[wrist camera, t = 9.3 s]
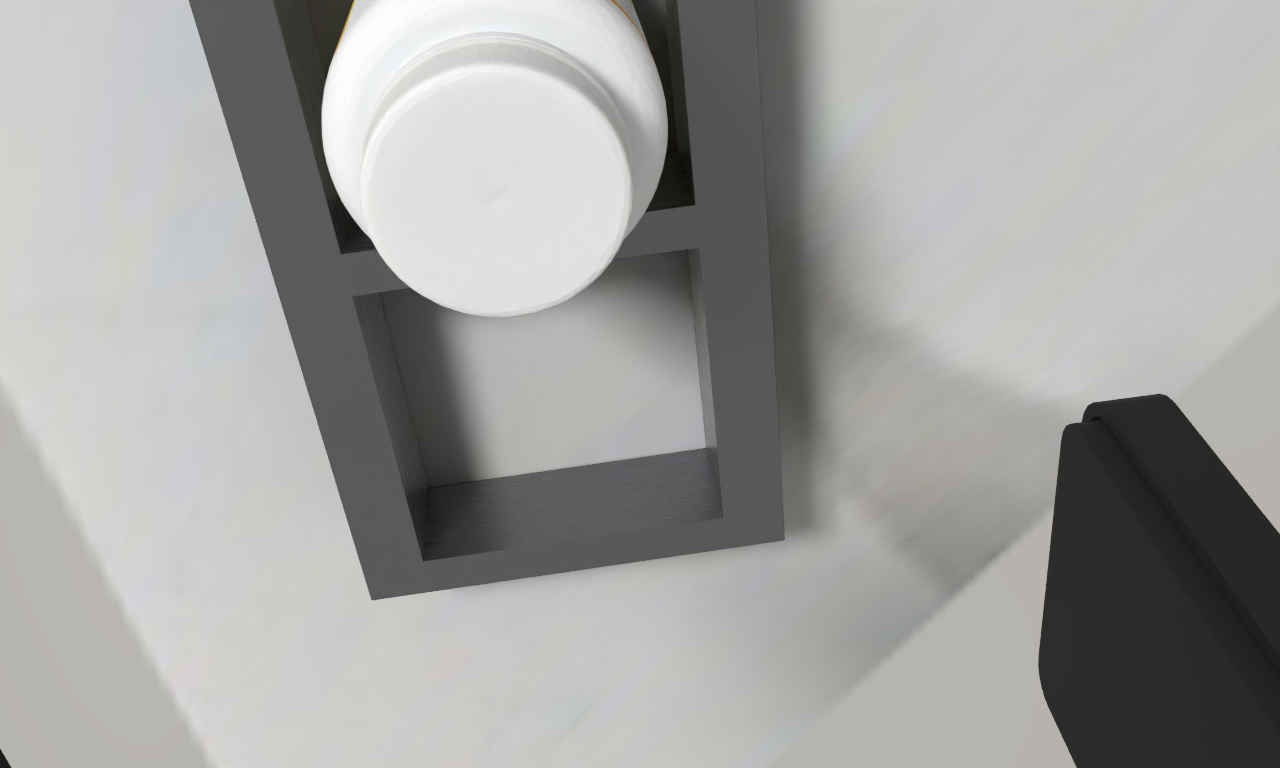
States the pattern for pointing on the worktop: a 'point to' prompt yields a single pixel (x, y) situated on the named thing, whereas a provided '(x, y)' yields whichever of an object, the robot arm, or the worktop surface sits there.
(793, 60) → the worktop surface
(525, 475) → the dark grey divided tray
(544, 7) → the supplement bottle
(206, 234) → the worktop surface
